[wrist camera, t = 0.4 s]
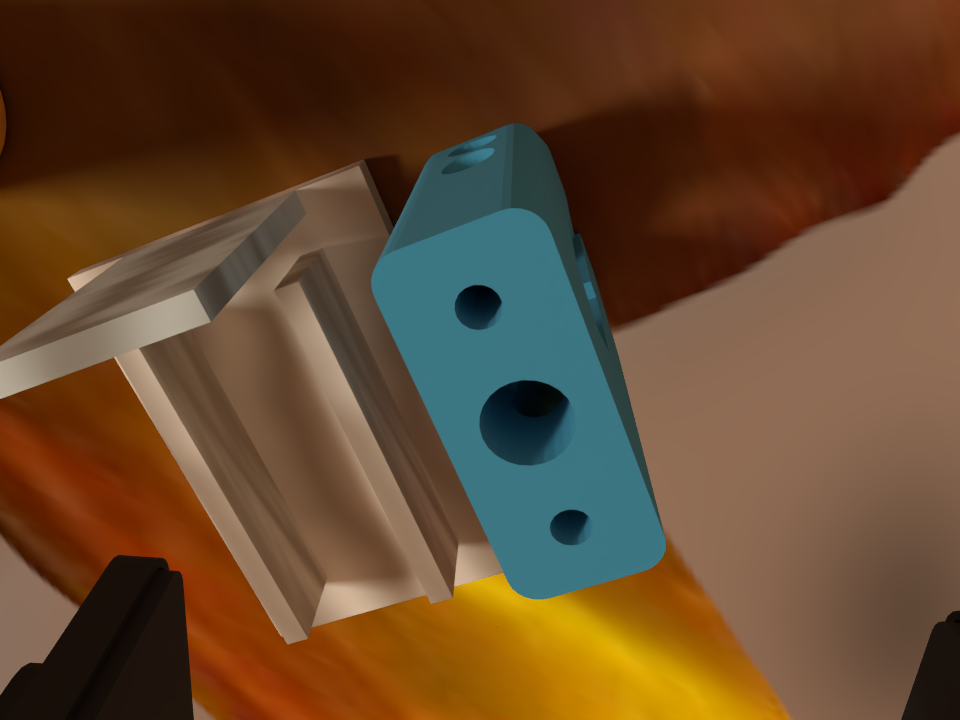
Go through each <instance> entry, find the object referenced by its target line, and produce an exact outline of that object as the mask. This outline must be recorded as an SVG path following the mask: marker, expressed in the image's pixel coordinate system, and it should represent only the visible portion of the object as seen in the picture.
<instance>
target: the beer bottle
mask: <svg viewBox="0 0 960 720" xmlns="http://www.w3.org/2000/svg"><path fill="white" fill-rule="evenodd" d="M5 134H6V111H5V106H4V102H3V98H2V93H1V91H0V155H1V152H2V149H3V146H4V142H5Z"/></svg>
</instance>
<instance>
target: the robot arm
mask: <svg viewBox="0 0 960 720" xmlns="http://www.w3.org/2000/svg"><path fill="white" fill-rule="evenodd" d="M0 720H194V717H193V705H192V691H191V678H190V665H189V652H188V640H187V627H186V614H185V601H184V588H183V579H182V575H181V573H180V572H179V571H169V567H168V563H167V561H166V560H165V559H163V558H154V557H138V556H123V555H118V556H116V557H114V558H113V559H112V561H111V562H110V563H109V565H108V566H107V568H106V569H105V571H104V572H103V574H102V575H101V577H100V578H99V580H98V581H97V583H96V584H95V586H94V587H93V589H92V590H91V592H90V593H89V595H88V596H87V598H86V599H85V601H84V602H83V604H82V605H81V607H80V608H79V610H78V611H77V613H76V614H75V616H74V617H73V619H72V620H71V622H70V623H69V625H68V626H67V628H66V629H65V631H64V632H63V634H62V635H61V637H60V638H59V640H58V641H57V643H56V644H55V646H54V647H53V649H52V650H51V652H50V654H49V655H48V656H47V658H46V659H45V661H44V662H43V663H29V664H27V665H25V666H23V667H22V668H21V669H20V670H19V671H18V672H17V673H16V674H15V676H14V677H13V678H12V679H11V681H10V682H9V684H8V685H7V687H6V688H5V689H4V691H3V692H2V694H1V695H0ZM901 720H960V611H954V612H952V613H951V614H950V615H948V617H947V619H946V621H945V622H938V623H937V624H936V625H935V626H934V628H933V630H932V632H931V635H930V638H929V641H928V644H927V647H926V650H925V653H924V655H923V658H922V661H921V664H920V667H919V670H918V673H917V676H916V679H915V682H914V684H913V687H912V690H911V693H910V696H909V699H908V702H907V704H906V708H905V710H904V713H903V716H902V719H901Z"/></svg>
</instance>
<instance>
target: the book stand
mask: <svg viewBox="0 0 960 720" xmlns="http://www.w3.org/2000/svg"><path fill="white" fill-rule="evenodd" d="M393 229H394V227H393V225H392V222H391V220H390V218H389V215H388V213H387V211H386V209H385V206H384V204H383V202H382V199H381V197H380V195H379V192H378V190H377V188H376V185H375V183H374V181H373V178H372V176H371V174H370V171H369V169H368V167H367V165H366V162H365V160H364V159H363V160H361V161H358V162H356V163H353V164H350V165H348V166H345V167H343V168H340V169H338V170H335V171H333V172H330V173H327V174H325V175H322V176H320V177H317V178H315V179H312V180H309V181H307V182H304V183H302V184H299V185H297V186H294V187H291V188H289V189H286V190H284V191H281V192H279V193H276V194H273V195H271V196H268V197H266V198H263V199H261V200H258V201H255V202H253V203H250V204H248V205H245V206H243V207H240V208H237V209H235V210H232V211H230V212H227V213H225V214H222V215H219V216H217V217H214V218H212V219H209V220H207V221H204V222H202V223H199V224H196V225H194V226H191V227H189V228H186V229H184V230H181V231H178V232H176V233H173V234H171V235H168V236H166V237H163V238H160V239H158V240H155V241H153V242H150V243H148V244H145V245H142V246H140V247H137V248H135V249H132V250H130V251H127V252H124V253H122V254H119V255H117V256H114V257H112V258H109V259H106V260H104V261H101V262H99V263H96V264H94V265H91V266H88V267H86V268H83V269H81V270H79V271H78V272H77V273H75V274H74V275H72V276H71V277H69V278H68V281H69V283H70V284H71V286H72V288H73V289H74V291H75V293H73V294H72V295H70V296H69V297H68V298H66V299H65V300H63V301H62V302H61V303H59V304H58V305H57V306H55V307H54V308H52V309H51V310H50V311H48V312H47V313H45V314H44V315H43V316H41V317H40V318H38V319H37V320H36V321H34V322H33V323H32V324H30V325H29V326H27V327H26V328H25V329H23V330H22V331H20V332H19V333H18V334H16V335H15V336H14V337H12V338H11V339H9V340H8V341H7V342H5V343H4V344H2V345H1V346H0V399H1V398H4V397H6V396H9V395H12V394H15V393H17V392H20V391H23V390H26V389H28V388H31V387H34V386H37V385H39V384H42V383H45V382H48V381H50V380H53V379H56V378H59V377H61V376H64V375H67V374H70V373H72V372H75V371H78V370H81V369H83V368H86V367H89V366H92V365H94V364H97V363H100V362H102V361H105V360H108V359H111V358H113V357H114V358H115V360H116V361H117V363H118V365H119V366H120V368H121V370H122V371H123V373H124V375H125V376H126V378H127V380H128V381H129V383H130V385H131V386H132V388H133V390H134V391H135V393H136V395H137V396H138V398H139V400H140V401H141V403H142V405H143V406H144V408H145V410H146V411H147V413H148V415H149V416H150V418H151V420H152V421H153V423H154V425H155V426H156V428H157V430H158V431H159V433H160V435H161V437H162V438H163V440H164V442H165V443H166V445H167V447H168V448H169V450H170V452H171V453H172V455H173V457H174V458H175V460H176V462H177V463H178V465H179V467H180V468H181V470H182V472H183V473H184V475H185V477H186V478H187V480H188V482H189V483H190V485H191V487H192V488H193V490H194V492H195V493H196V495H197V497H198V498H199V500H200V502H201V503H202V505H203V507H204V508H205V510H206V512H207V513H208V515H209V517H210V519H211V520H212V522H213V524H214V525H215V527H216V529H217V530H218V532H219V534H220V535H221V537H222V539H223V540H224V542H225V544H226V545H227V547H228V549H229V550H230V552H231V554H232V555H233V557H234V559H235V560H236V562H237V564H238V565H239V567H240V569H241V570H242V572H243V574H244V575H245V577H246V579H247V580H248V582H249V584H250V585H251V587H252V589H253V590H254V592H255V594H256V596H257V597H258V599H259V601H260V602H261V604H262V606H263V607H264V609H265V611H266V612H267V614H268V616H269V617H270V619H271V621H272V622H273V624H274V626H275V627H276V629H277V631H278V632H279V634H280V636H283V638H284V639H285V641H286V643H287V644H290V643H294V642H298V641H301V640H305V639H308V637H309V634H310V630H311V627H315V626H318V625H322V624H325V623H329V622H332V621H336V620H339V619H343V618H346V617H350V616H353V615H357V614H360V613H364V612H367V611H371V610H374V609H378V608H381V607H385V606H388V605H392V604H395V603H399V602H402V601H406V600H410V599H413V598H417V597H420V596H424V595H427V597H428V599H429V601H430V603H431V604H432V603H436V602H439V601H443V600H446V599H450V598H453V591H454V587H455V586H459V585H462V584H466V583H469V582H473V581H476V580H480V579H483V578H487V577H490V576H494V575H497V574H501V573H504V572H503V570H502V568H501V566H500V564H499V562H498V559H497V557H496V555H495V553H494V551H493V549H492V547H491V545H490V542H489V540H488V538H487V536H486V534H485V532H484V530H483V528H482V525H481V523H480V521H479V519H478V517H477V515H476V513H475V511H474V508H473V506H472V504H471V502H470V500H469V498H468V496H467V494H466V491H465V489H464V487H463V485H462V483H461V481H460V479H459V477H458V474H457V472H456V470H455V468H454V466H453V464H452V462H451V460H450V457H449V455H448V453H447V451H446V449H445V447H444V445H443V443H442V440H441V438H440V436H439V434H438V432H437V430H436V428H435V426H434V423H433V421H432V419H431V417H430V415H429V413H428V411H427V408H426V406H425V404H424V402H423V400H422V398H421V396H420V394H419V391H418V389H417V387H416V385H415V383H414V381H413V379H412V377H411V374H410V372H409V370H408V368H407V366H406V364H405V362H404V360H403V357H402V355H401V353H400V351H399V349H398V347H397V345H396V343H395V340H394V338H393V336H392V334H391V332H390V330H389V328H388V326H387V323H386V321H385V319H384V317H383V315H382V313H381V311H380V309H379V306H378V304H377V302H376V300H375V298H374V295H373V292H372V287H371V278H372V274H373V270H374V268H375V266H376V264H377V262H378V260H379V258H380V256H381V254H382V252H383V250H384V248H385V246H386V244H387V242H388V240H389V238H390V236H391V234H392V231H393Z"/></svg>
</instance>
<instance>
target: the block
mask: <svg viewBox="0 0 960 720" xmlns="http://www.w3.org/2000/svg"><path fill="white" fill-rule="evenodd" d="M371 287H372V292H373V295H374V298H375V300H376V302H377V304H378V306H379V309H380V311H381V313H382V315H383V317H384V319H385V321H386V323H387V326H388V328H389V330H390V332H391V334H392V336H393V338H394V340H395V343H396V345H397V347H398V349H399V351H400V353H401V355H402V357H403V360H404V362H405V364H406V366H407V368H408V370H409V372H410V374H411V377H412V379H413V381H414V383H415V385H416V387H417V389H418V391H419V394H420V396H421V398H422V400H423V402H424V404H425V406H426V408H427V411H428V413H429V415H430V417H431V419H432V421H433V423H434V426H435V428H436V430H437V432H438V434H439V436H440V438H441V440H442V443H443V445H444V447H445V449H446V451H447V453H448V455H449V457H450V460H451V462H452V464H453V466H454V468H455V470H456V472H457V474H458V477H459V479H460V481H461V483H462V485H463V487H464V489H465V491H466V494H467V496H468V498H469V500H470V502H471V504H472V506H473V508H474V511H475V513H476V515H477V517H478V519H479V521H480V523H481V525H482V528H483V530H484V532H485V534H486V536H487V538H488V540H489V542H490V545H491V547H492V549H493V551H494V553H495V555H496V557H497V559H498V562H499V564H500V566H501V568H502V570H503V572H504V574H505V576H506V579H507V581H508V583H509V584H510V586H511V587H512V589H514V590H515V591H516V592H517V593H518V594H520V595H522V596H524V597H527V598H531V599H547V598H552V597H555V596H559V595H562V594H566V593H569V592H573V591H576V590H580V589H583V588H587V587H590V586H594V585H597V584H601V583H604V582H607V581H611V580H614V579H618V578H621V577H625V576H628V575H632V574H635V573H639V572H642V571H645V570H647V569H650V568H651V567H653V566H654V565H656V564H657V563H658V562H659V561H660V560H661V558H662V557H663V555H664V553H665V549H666V540H665V536H664V532H663V528H662V524H661V520H660V516H659V512H658V508H657V504H656V500H655V497H654V493H653V489H652V485H651V481H650V477H649V474H648V469H647V465H646V461H645V457H644V454H643V450H642V446H641V442H640V438H639V434H638V430H637V427H636V423H635V418H634V414H633V411H632V407H631V403H630V399H629V395H628V391H627V387H626V383H625V379H624V375H623V371H622V368H621V364H620V360H619V356H618V353H617V349H616V346H615V342H614V339H613V335H612V332H611V329H610V325H609V322H608V319H607V315H606V312H605V308H604V305H603V302H602V298H601V295H600V291H599V288H598V285H597V281H596V278H595V274H594V271H593V268H592V266H591V263H590V260H589V257H588V255H587V252H586V249H585V246H584V243H583V241H582V238H581V235H580V233H578V234H575V235H574V232H573V228H572V223H571V218H570V213H569V208H568V203H567V198H566V194H565V191H564V188H563V185H562V183H561V180H560V177H559V174H558V171H557V169H556V166H555V163H554V160H553V158H552V155H551V152H550V150H549V148H548V146H547V145H546V143H545V142H544V141H543V140H542V139H541V138H540V137H539V136H538V135H537V133H536V132H535V131H534V130H533V129H532V128H530V127H529V126H527V125H524V124H521V123H513V124H509V125H506V126H503V127H501V128H498V129H496V130H493V131H491V132H488V133H486V134H483V135H481V136H478V137H476V138H473V139H471V140H468V141H466V142H463V143H461V144H458V145H456V146H453V147H451V148H448V149H446V150H443V151H441V152H438V153H436V154H434V155H433V156H432V157H431V158H430V159H429V160H428V161H427V163H426V164H425V166H424V168H423V170H422V172H421V174H420V176H419V178H418V180H417V182H416V184H415V187H414V189H413V191H412V193H411V195H410V197H409V199H408V201H407V203H406V205H405V207H404V209H403V211H402V213H401V215H400V217H399V219H398V221H397V223H396V225H395V227H394V229H393V231H392V234H391V236H390V238H389V240H388V242H387V244H386V246H385V248H384V250H383V252H382V254H381V256H380V258H379V260H378V262H377V264H376V266H375V268H374V270H373V274H372V278H371Z"/></svg>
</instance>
